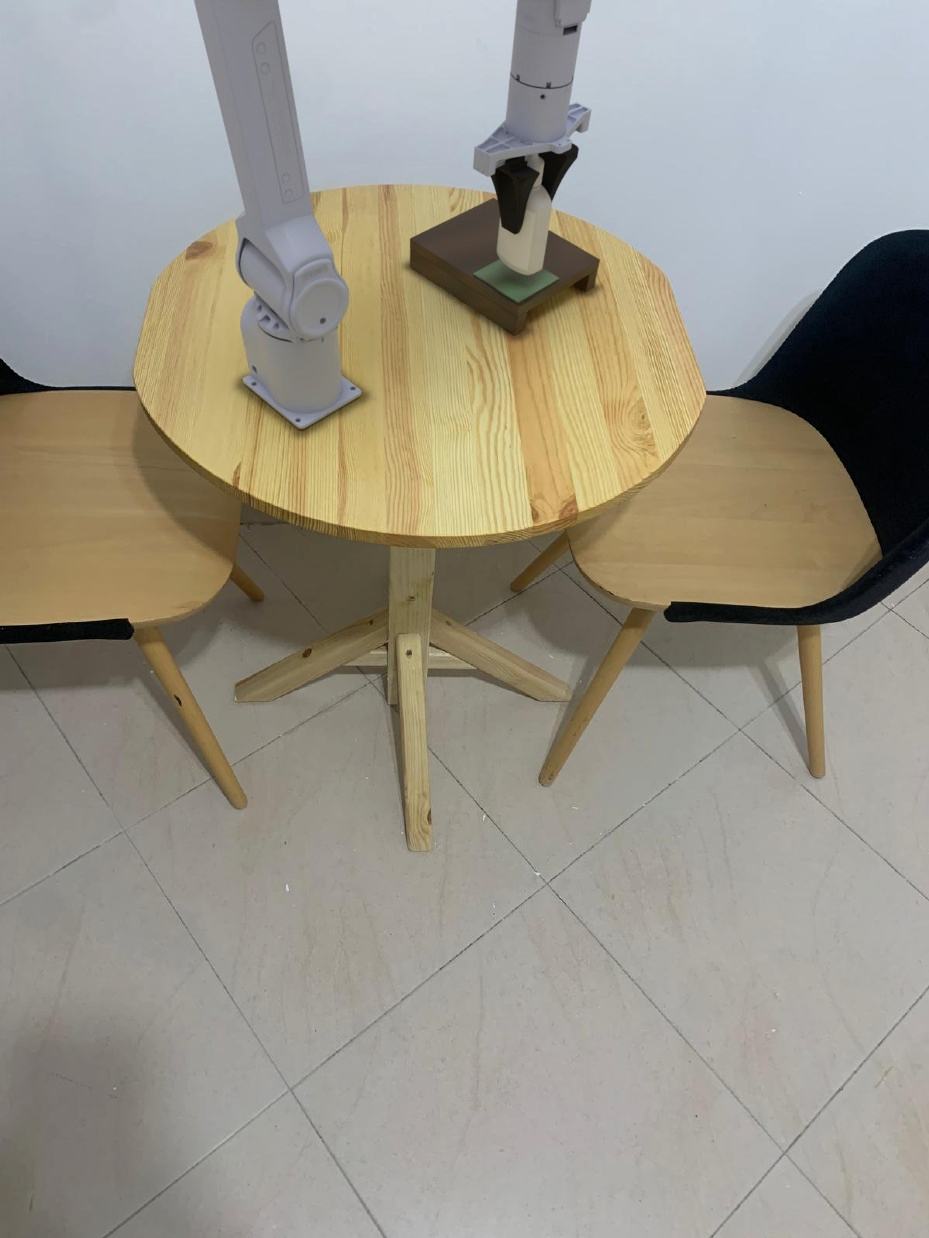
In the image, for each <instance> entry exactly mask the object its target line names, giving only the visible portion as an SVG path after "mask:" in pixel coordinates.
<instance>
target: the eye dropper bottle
mask: <svg viewBox="0 0 929 1238" xmlns="http://www.w3.org/2000/svg"><path fill="white" fill-rule="evenodd" d="M525 161H528V163H527V166H529V167H531V168H532V169H534V170H536V171H538V172H539V173H540V175H539V176H538V178H537V180H536V181H535V183H534V185H533V188H532V190H531V193H530V195H529V198H528V202H527V206H526V211H525V216H524V221H523V225H522V228H521V230H520V232H519V233H518V234H513V233H511V232H509V231H508V230H506V229H504V228H503V227H502V226H501V219H500V223H499V233H498V242H497V254H498V256H499V258H500V259H501V261H502V262H503V263H504V264H505V265H506V266H508V267H509V268H511V269H512V270H514V271H516V272H518V273H521V274H524V275H531V274H534V273H536V272H538V271H540V270H541V269H542V267H543V262H544V255H545V249H546V242H547V236H548V230H550V221H551V215H552V206H553V205H552V203H553V201H552V202H551V199H550V196H549V194H548V193H547V191H546V190H545V188H544V187H543V186H542V185H541V183H542V176H543V169H544V160H543V159H542V158H541V157H539V156H538V153H537V154H531V155H526V156H525Z"/></svg>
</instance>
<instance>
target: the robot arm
mask: <svg viewBox="0 0 929 1238" xmlns="http://www.w3.org/2000/svg"><path fill="white" fill-rule="evenodd" d="M193 3H194V7H195V11H196V14H197V19H198V22H199V28H200V31H201V35H202V40H203V43H204V47H205V52H206V55H207V60H208V65H209V68H210V72H211V76H212V81H213V85H214V89H215V92H216V93H215V94H216V97H217V101H218V105H219V110H220V113H221V117H222V122H223V126H224V130H225V133H226V138H227V142H228V146H229V149H230V154H231V158H232V163H233V167H234V170H235V174H236V179H237V183H238V188H239V191H240V195H241V199H242V204H243V208H244V210H243V211H242V212H241V213H240V214H239V215H238V216H236V218H235V219H234V223H235V228H236V232H237V246H236V252H235V259H234V261H235V269H236V272H237V274H238V277H239V278H240V280H241V281H242V283H244V285H246V286H247V287H248V288H250V289H251V290H252V291H253V295H252V296H251V297H250V298H249V299H248V300H247V301H246V303H245V305H244V307H243V308H242V312H241V316H240V322H239V328H240V332H241V338H242V344H243V347H244V352H245V358H246V362H247V367H248V371H249V374H248V375H246V376H244V377H243V379H242V382H243V384H244V385H245V386H246V387H247V388H249V389H250V390H251V391H252V392H254V393H255V394H256V395H257V396H259V398H261V399H262V400H263V401H264V402H266V403H267V404H268V405H269V406H270V407H271V408H273V410H275V411H277V412H278V413H279V414H280V415H281V416H283V417H284V418H285V419H286V420H287V421H289V422H290V423H291V424H292V425H293V426H294V427H296V428H297V429H299V430H304V429H306V428H308V427H310V426H312V425H313V424H315V423H317V422H319V421H320V420H321V419H324V418H325V417H327V416H329V415H330V414H332V413H333V412H335V411H337V410H339V409H340V408H342V407H344V406H345V405H347V404H349V403H350V402H352V401H354V400H355V399H357V398H360V396H361V395H362V389H361V388H359V387H358V386H357V385H356V384H354V383H353V382H351V381H350V380H349V379H347V378H346V377H345V376H343V374H342V362H341V352H340V351H341V350H340V340H339V325H340V324H341V323H342V321H343V319H344V318H345V316H346V314H347V311H348V309H349V303H350V289H349V286H348V284H347V282H346V279H344V277H343V276H342V275H341V274H340V272H339V271H338V269H337V266H336V263H335V256H334V251H333V250H332V247H331V245H330V244H329V241H328V239H327V237H326V236H325V234H324V232H323V230H322V229H321V226H320V224H319V223H318V221H317V219H316V217H315V214H314V210H313V204H312V197H311V196H312V195H311V190H310V185H309V184H310V183H309V179H308V172H307V166H306V162H305V154H304V148H303V142H302V137H301V131H300V124H299V119H298V113H297V106H296V101H295V95H294V88H293V83H292V75H291V71H290V65H289V58H288V52H287V47H286V40H285V34H284V28H283V23H282V17H281V16H282V15H281V9H280V5H279V0H193ZM591 7H592V0H516V9H515V20H514V21H515V22H514V30H513V41H512V50H511V51H512V52H511V61H510V72H509V82H508V90H507V103H506V112H505V120H503V121H502V123H501V124H499V125H498V127H497V128H496V129H495V130H494V131H493V132H492V133H491V134H490V135H489V137H487V138H486V139H485V140H484V141H483V142H482V143H479V144H477V145H476V146H474V149H473V163H472V169H473V170H475V171H476V172H478V173H480V174H482V175H484V176H485V177H487V178H488V177H490V179H491V181H492V185H493V187H494V188H493V189H494V191H495V194H496V199H497V200H498V205H499V212H500V219H501V226H502V227H503V228H504V229H506V230H508V231H509V232H511V233H513V234H518V233H519V232H520V230H521V228H522V225H523V221H524V216H525V211H526V206H527V202H528V198H529V195H530V193H531V190H532V188H533V185H534V183H535V181H536V180H537V178H538V176H539V175H540V173H539V172H538V171H536V170H534V169H532V168H531V167H529V166H527V163H528V161H525V156H526V155H531V154H537V153H538V156H539V157H541V158H542V159H543V160H544V169H543V176H542V183H541V185H542V186H543V187H544V188H545V190H546V191H547V193H548V194H549V196H550V199H551V202H552V203H553V200H554V198H555V196H556V194H557V192H558V189H559V187H560V185H561V183H562V181H563V180H564V177H565V176H566V174H567V172H568V171H569V170H570V168H571V167H572V165H573V164H574V163H575V161H576V160H577V159H578V157H579V151H580V148H579V146H578V145H577V144H575V143H574V142H573V140H572V139H571V136H572V135H573V134H574V133H575V132H577V133H579V134H583V133H585V132H587V131H588V130H589V125H590V121H591V114H592V109H591V108H589V107H587V106H585V105H583V104H581V103H579V102H578V101H577V102H573V103H571V97H572V90H573V84H574V77H575V71H576V65H577V59H578V53H579V47H580V39H581V32H582V26H583V22H585V21H586V19H587V16H588V14H589V13H590V12H591Z"/></svg>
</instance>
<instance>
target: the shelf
mask: <svg viewBox="0 0 929 1238" xmlns="http://www.w3.org/2000/svg"><path fill="white" fill-rule="evenodd" d="M499 223H500V212H499V205H498V200H497V198H495V197H491V199H488V200H486V201H484V202H482V203H479V204H478V205H476V206H474V207H473V206H472V207H471V208H470V209H467V210H466V211H463V212H462V213H459V214H457V215H455V216H453V217H451V218H449V219H447V220H444V221H442V222H440V223H439V224H436V225H435V226H432V227H431V228H428V229H426V230H424V231H422V232H420V233H418V234H416V235H414V236H412V237H410V238H409V267H410V268H412V270H414V271H416V272H418V273H419V274H421V275H422V276H424V277H425V278H427V279H428V280H429V281H431V282H433V283H434V284H435V285H437V286H438V287H440V288H442V289H443V290H445V291H446V292H448V293H450V294H451V295H452V296H454V297H456V298H457V299H459V300H460V301H461V302H463V303H464V304H466V305H468V306H469V307H471V308H472V309H473V310H475V311H476V312H478V313H479V314H481V315H483V316H484V317H485V318H487V319H489V320H490V321H492V322H493V323H494V324H496V325H498V326H500V327H501V328H502V329H504V330H506V332H508V333H510V334H512V336H516V335H518V334H519V333H522V331H525V325H526V318H527V312H528V311H530V310H532V309H534V308H535V307H537V306H539V305H540V304H542V303H544V302H546V301H547V300H549V299H550V298H552V297H554V296H555V295H557V294H559V293H560V292H562V291H564V290H565V289H567V288H569V287H571V286H572V285H573V286H575V287H576V288H577V289H579V290H581V291H583V292H584V293H587V292H589V291H590V290H592V289H594V288H595V284H596V279H597V276H598V271H599V267H600V263H601V259H600V258H598V257H596V256H595V255H593V254H591V253H590V252H588V251H587V250H584V249H583V248H581V247H580V246H578V245H576V244H574V243H573V242H570V241H569V240H567V239H566V238H564V237H562V236H561V235H559V234H557V233H555V232H553V231H552V230H550V229H548V236H547V242H546V249H545V255H544V262H543V267H542V269H541V270H540V271H538V272H536V273H534V274H531V275H524V274H521V273H518V272H516V271H514V270H512V269H511V268H509V267H508V266H506V265H505V264H504V263H503V262H502V261H501V259H500V258H499V256H498V254H497V242H498V233H499Z"/></svg>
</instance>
